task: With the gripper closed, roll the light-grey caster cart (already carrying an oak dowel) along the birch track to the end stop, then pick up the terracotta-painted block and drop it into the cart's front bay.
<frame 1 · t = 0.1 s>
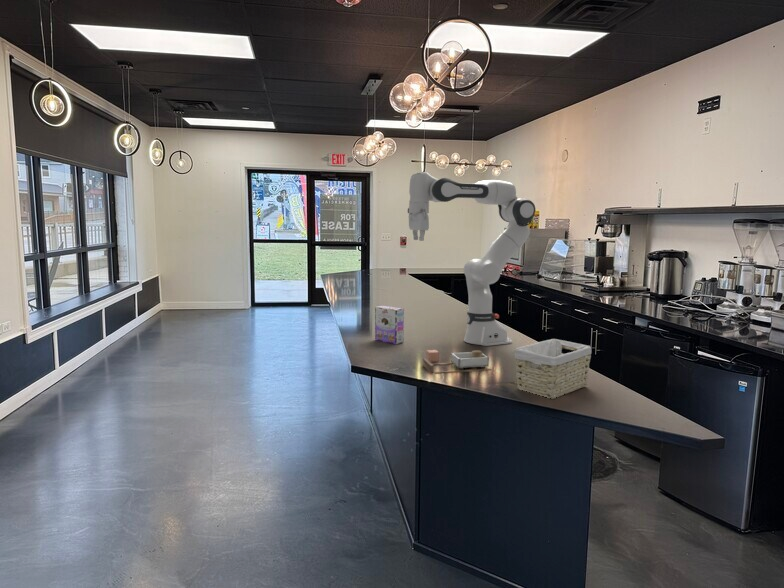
hand: (418, 240, 233), 48 cm above the countertop, tool pointing down, fingers open, 8 cm apart
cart: (469, 361, 198), point 3 cm above the countertop, slide at 0.0 cm, touching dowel
candy box: (389, 341, 245), on the countertop
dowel: (476, 361, 199), point 3 cm above the countertop, touching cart
track: (456, 370, 198), on the countertop
storage basket: (551, 388, 178), on the countertop
block: (432, 363, 208), on the countertop
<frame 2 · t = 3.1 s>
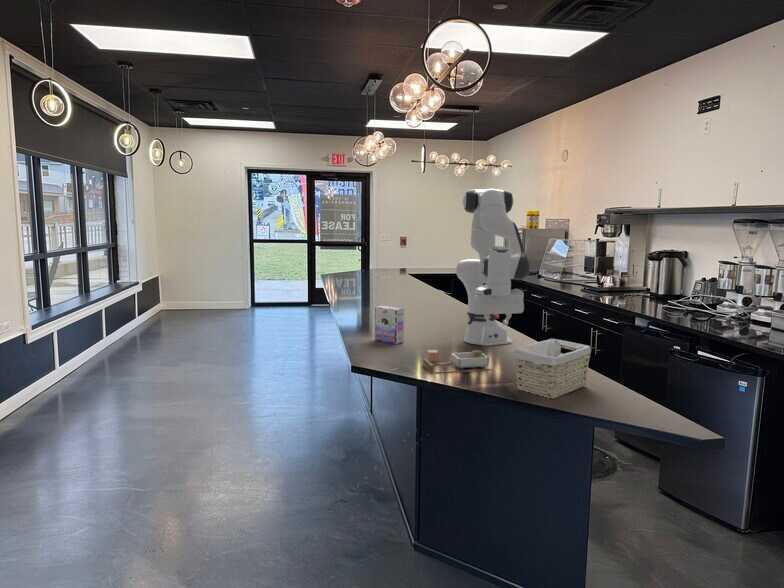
hand: (497, 325, 199), 17 cm above the countertop, tool pointing down, fingers open, 5 cm apart
nothing on the countertop moved.
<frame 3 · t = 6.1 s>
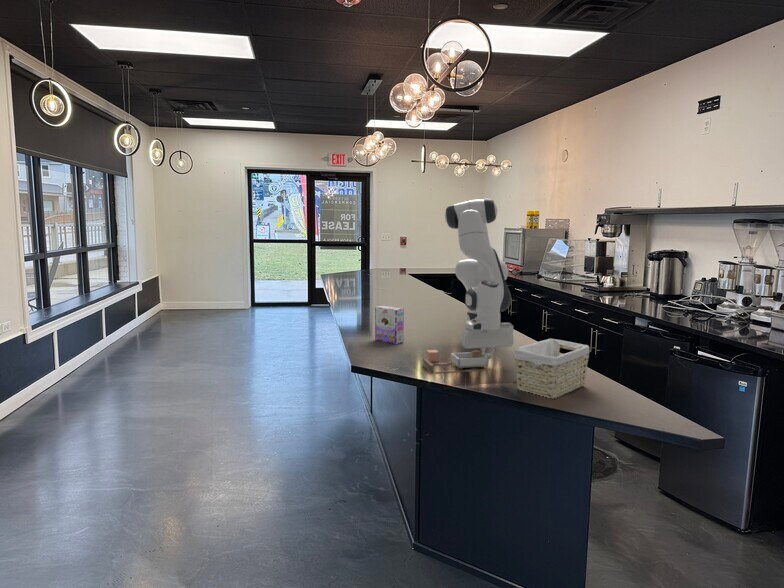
hand: (487, 358, 200), 4 cm above the countertop, tool pointing down, fingers closed
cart: (468, 361, 198), point 3 cm above the countertop, slide at 0.2 cm, touching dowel, gripper
everything else where it was.
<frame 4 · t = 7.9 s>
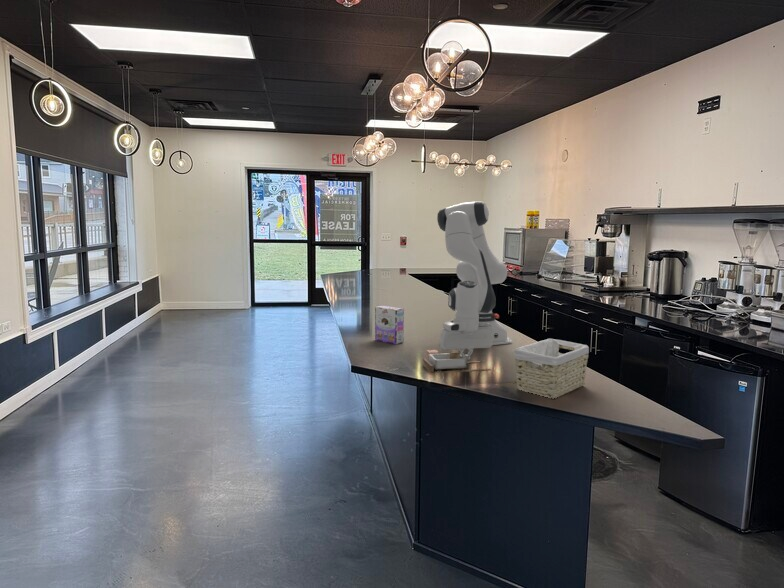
hand: (465, 359, 198), 4 cm above the countertop, tool pointing down, fingers closed
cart: (447, 362, 196), point 3 cm above the countertop, slide at 9.0 cm, touching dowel, gripper
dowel: (454, 362, 197), point 3 cm above the countertop, touching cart
everything else where it was.
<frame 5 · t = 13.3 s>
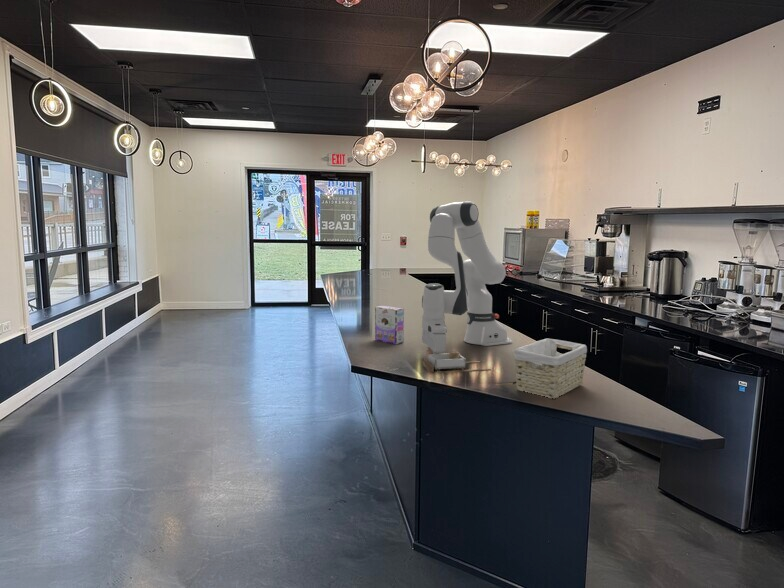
hand: (432, 358, 208), 2 cm above the countertop, tool pointing down, fingers closed on block, 4 cm apart
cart: (446, 362, 196), point 3 cm above the countertop, slide at 9.3 cm, touching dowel
block: (432, 363, 208), on the countertop, touching gripper
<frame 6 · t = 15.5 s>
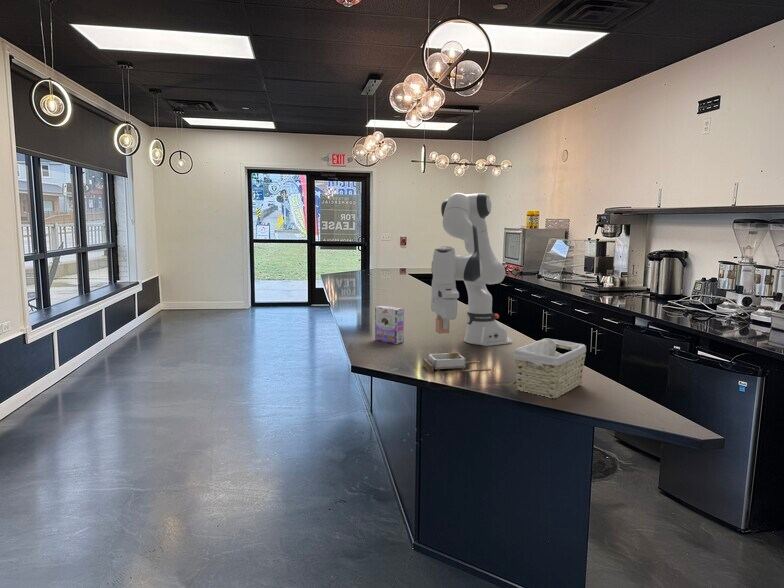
hand: (442, 327, 194), 17 cm above the countertop, tool pointing down, fingers closed on block, 4 cm apart
block: (442, 332, 194), point 15 cm above the countertop, touching gripper
when the fingers open (6 cm above the countertop, at t = 17.8 s): block drops 1 cm, resting on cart.
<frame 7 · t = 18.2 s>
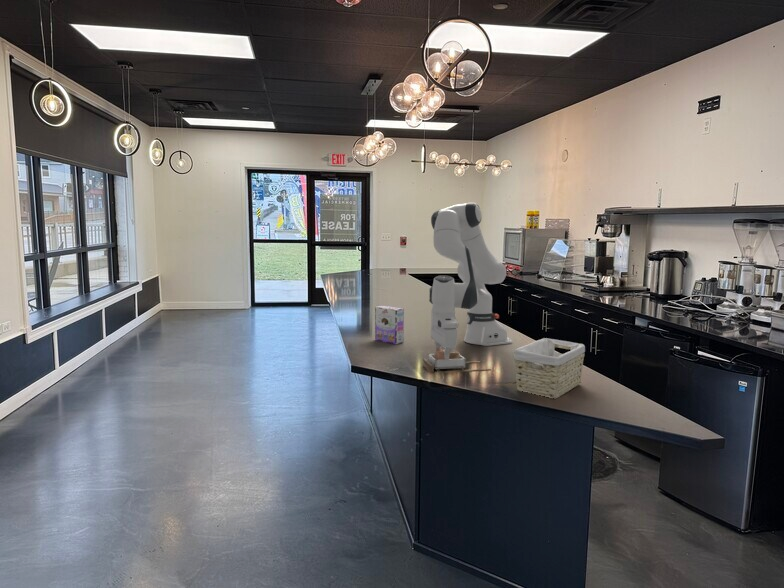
hand: (442, 355, 196), 6 cm above the countertop, tool pointing down, fingers open, 8 cm apart
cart: (446, 362, 196), point 3 cm above the countertop, slide at 9.3 cm, touching block, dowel
block: (441, 363, 196), point 3 cm above the countertop, touching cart
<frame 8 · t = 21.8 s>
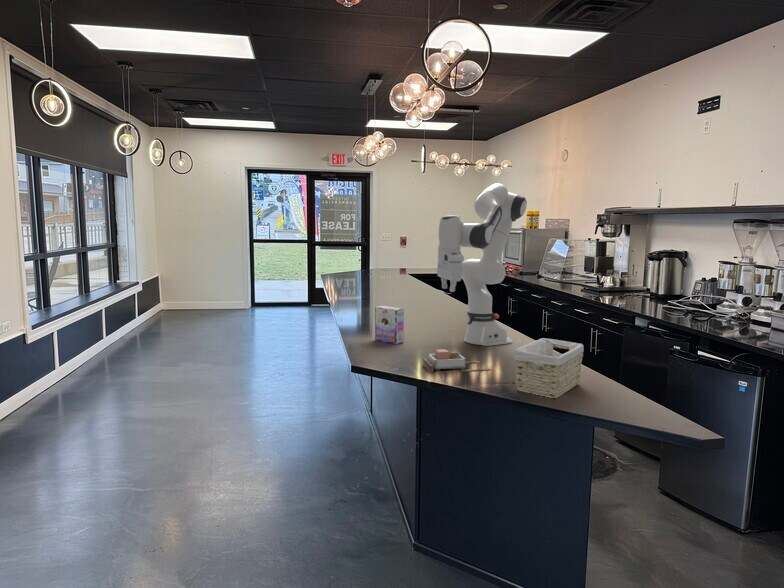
hand: (448, 290, 208), 29 cm above the countertop, tool pointing down, fingers open, 8 cm apart
at the end: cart slide at 9.3 cm; block inside the target area on the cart (1.8 cm from its centre), point 1.9 cm above the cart's base; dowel inside the target area on the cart (3.0 cm from its centre), point 1.9 cm above the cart's base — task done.
